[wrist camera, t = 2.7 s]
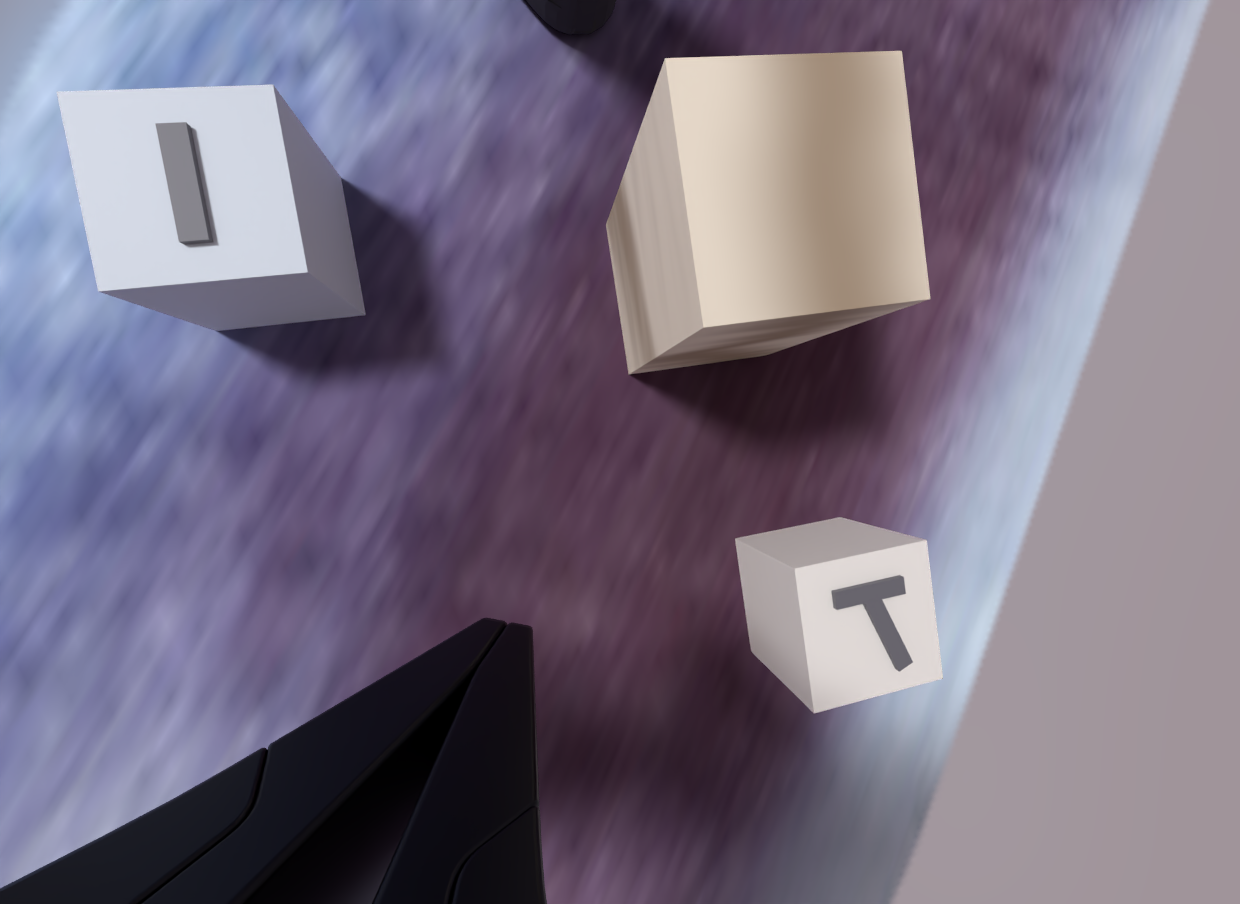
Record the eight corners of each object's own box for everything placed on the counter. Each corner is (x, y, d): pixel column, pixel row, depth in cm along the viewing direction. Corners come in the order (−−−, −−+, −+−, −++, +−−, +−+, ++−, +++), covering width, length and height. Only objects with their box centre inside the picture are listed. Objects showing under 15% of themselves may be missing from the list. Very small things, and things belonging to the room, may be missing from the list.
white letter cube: (217, 331, 18) (91, 289, 13) (189, 188, 18) (49, 86, 12) (366, 315, 19) (304, 270, 14) (341, 178, 18) (268, 79, 13)
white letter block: (750, 650, 22) (817, 716, 17) (734, 538, 21) (797, 570, 16) (853, 625, 23) (947, 681, 17) (839, 516, 22) (931, 541, 17)
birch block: (628, 374, 20) (703, 327, 12) (605, 225, 20) (664, 58, 11) (765, 355, 21) (930, 298, 13) (745, 212, 21) (901, 50, 12)
